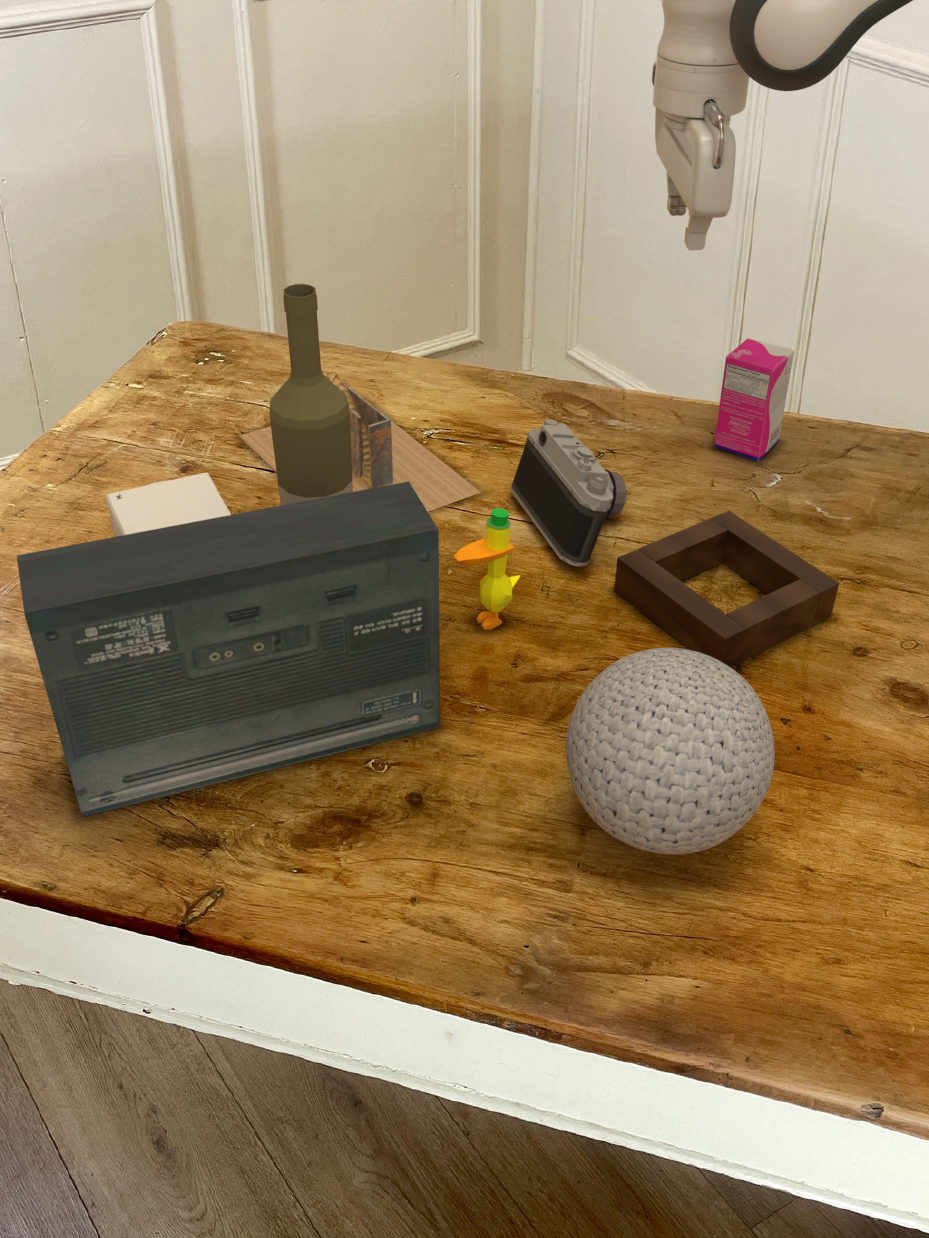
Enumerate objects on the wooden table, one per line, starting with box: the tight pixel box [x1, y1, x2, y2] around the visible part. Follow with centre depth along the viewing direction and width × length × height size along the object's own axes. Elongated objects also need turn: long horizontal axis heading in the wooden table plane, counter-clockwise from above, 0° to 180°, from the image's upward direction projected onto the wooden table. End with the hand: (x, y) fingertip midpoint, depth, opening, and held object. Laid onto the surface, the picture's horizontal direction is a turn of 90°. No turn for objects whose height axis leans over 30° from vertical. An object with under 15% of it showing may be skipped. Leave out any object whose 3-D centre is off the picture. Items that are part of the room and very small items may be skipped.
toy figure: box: [453, 507, 522, 631], centre depth 107 cm, size 7×4×12 cm, turn 119°
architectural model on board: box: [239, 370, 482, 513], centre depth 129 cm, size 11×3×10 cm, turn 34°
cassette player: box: [16, 481, 441, 818], centre depth 92 cm, size 29×7×20 cm, turn 110°
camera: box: [510, 418, 628, 567], centre depth 121 cm, size 16×9×10 cm, turn 20°
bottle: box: [269, 283, 353, 506], centre depth 105 cm, size 7×7×30 cm
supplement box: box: [713, 337, 795, 463], centre depth 132 cm, size 6×6×12 cm
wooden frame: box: [613, 510, 840, 668], centre depth 112 cm, size 14×14×4 cm
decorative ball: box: [565, 647, 776, 856], centre depth 87 cm, size 15×15×15 cm
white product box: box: [105, 472, 232, 537], centre depth 103 cm, size 9×9×15 cm
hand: (684, 230), depth 122 cm, fingers open, 8 cm apart
